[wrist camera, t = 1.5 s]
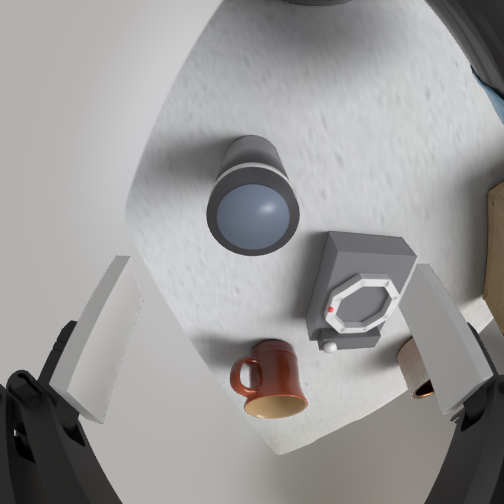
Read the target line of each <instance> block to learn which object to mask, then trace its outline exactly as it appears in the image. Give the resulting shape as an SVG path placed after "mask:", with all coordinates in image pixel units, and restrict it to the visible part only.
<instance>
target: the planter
mask: <svg viewBox="0 0 504 504" xmlns="http://www.w3.org/2000/svg"><path fill="white" fill-rule="evenodd" d="M397 360H398V363H399V366H400V368H401V371H402V373H403V376H404V379H405V381H406V384H407V387H408V389H409V392H410V395H411V397H412V398H413V399H420V398H424V397H427V396H430V395H432V394H434V393H435V391H434V388H433V386H432V383H431V380H430V377H429V375H428V372H427V370H426V367H425V365H424V362H423V360H422V357H421V355H420V352H419V350H418V347H417V345H416V343H415V340H414V338H413V337H412V338H411V339H410V340H408V341H407V342H406V343H405V344H404V345H403V347H402V348H401V349H400V351H399V353H398V355H397Z"/></svg>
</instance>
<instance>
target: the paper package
mask: <svg viewBox="0 0 504 504" xmlns="http://www.w3.org/2000/svg"><path fill="white" fill-rule="evenodd" d="M483 300H485V301H486V303H487V306H488V308H489V309H490V311H491V313H492V315H493V317H494V319H495V321H496V322H497V325H498V327H499V329H500V331H501V333H502V334H503V336H504V181H503V182H502V183H500V184H499V185H497V186H496V187H494V188H493V189H492V190H490V191H489V193H488V255H487V266H486V276H485V284H484V292H483Z"/></svg>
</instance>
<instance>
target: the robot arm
mask: <svg viewBox="0 0 504 504" xmlns="http://www.w3.org/2000/svg"><path fill="white" fill-rule="evenodd" d="M282 1H286V2H290V3H296V4H302V5H313V6H326V5H336V4H341V3H345V2H349V1H351V0H282ZM425 2H426V3H427V4H428V5H429V6H430V7H431V9H432V10H433V11H434V12H435V13H436V15H437V16H438V17H439V18H440V20H441V21H442V22H443V24H444V25H445V26H446V28H447V29H448V30H449V32H450V33H451V35H452V36H453V37H454V39H455V40H456V42H457V43H458V45H459V46H460V48H461V49H462V51H463V52H464V54H465V56H466V57H467V59H468V60H469V62H470V66H471V69H472V73H473V75H474V77H475V79H476V80H477V82H478V83H479V84H480V85H481V86H482V88H483V89H484V90H485V91H486V93H487V95H488V97H489V99H490V101H491V103H492V105H493V107H494V109H495V111H496V113H497V115H498V117H499V118H500V120H501V122H502V123H503V125H504V0H425ZM143 302H144V301H143V297H142V294H141V291H140V288H139V284H138V281H137V277H136V274H135V270H134V267H133V263H132V259H131V256H116V257H115V258H114V260H113V261H112V263H111V264H110V266H109V268H108V269H107V271H106V273H105V274H104V276H103V278H102V279H101V281H100V283H99V284H98V286H97V288H96V290H95V291H94V293H93V295H92V297H91V298H90V300H89V302H88V304H87V305H86V307H85V309H84V311H83V313H82V315H81V317H80V318H79V320H78V322H77V321H70V322H69V323H68V324H67V325H66V326H65V327H64V328H63V329H62V330H61V332H60V334H59V336H58V338H57V342H55V344H54V346H53V350H52V351H51V352H50V354H49V356H48V358H47V360H46V363H45V365H44V367H43V369H42V371H41V374H40V376H39V378H38V380H35V378H34V377H33V376H32V375H31V374H30V373H29V372H28V371H25V370H18V371H16V372H14V373H13V374H12V375H11V376H10V378H9V379H8V382H7V385H6V389H5V388H4V387H3V386H2V385H1V384H0V504H122V502H121V501H120V499H119V497H118V496H117V494H116V493H115V491H114V489H113V488H112V486H111V484H110V483H109V481H108V479H107V477H106V475H105V474H104V472H103V470H102V468H101V466H100V464H99V462H98V460H97V458H96V456H95V454H94V452H93V450H92V448H91V446H90V444H89V442H88V439H87V437H86V435H85V433H84V430H83V428H82V425H81V423H80V422H79V420H78V416H79V413H80V414H81V415H82V416H83V417H84V418H86V419H88V420H90V421H94V422H97V423H100V424H103V422H104V418H105V415H106V411H107V407H108V404H109V401H110V397H111V394H112V391H113V387H114V384H115V381H116V378H117V375H118V372H119V368H120V365H121V362H122V359H123V356H124V354H125V350H126V348H127V345H128V342H129V339H130V337H131V334H132V331H133V328H134V325H135V323H136V320H137V318H138V315H139V313H140V310H141V307H142V305H143ZM398 306H399V308H400V310H401V312H402V314H403V316H404V318H405V320H406V323H407V325H408V327H409V329H410V331H411V334H412V336H413V338H414V340H415V343H416V345H417V347H418V350H419V352H420V355H421V357H422V360H423V362H424V365H425V367H426V370H427V372H428V375H429V377H430V380H431V383H432V386H433V388H434V391H435V394H436V397H437V400H438V402H439V406H440V409H441V412H442V414H446V413H448V412H451V411H454V410H455V409H457V408H458V407H459V406H460V405H461V404H463V405H464V408H463V409H461V410H460V411H459V412H458V413H456V414H455V415H454V416H453V417H452V418H451V420H450V421H453V420H455V419H456V418H457V417H459V418H458V419H457V420H456V421H455V423H456V424H457V425H456V429H455V432H454V435H453V438H452V441H451V444H450V447H449V450H448V452H447V455H446V457H445V460H444V463H443V465H442V467H441V470H440V472H439V474H438V477H437V479H436V481H435V483H434V485H433V487H432V490H431V492H430V494H429V496H428V498H427V500H426V502H425V503H424V504H504V375H499V374H498V372H497V371H496V369H495V366H494V364H493V362H492V360H491V358H490V356H489V354H488V352H487V350H486V348H484V344H483V343H482V341H480V337H479V335H478V333H477V331H476V330H475V329H474V328H473V327H472V326H471V325H470V323H469V322H466V321H465V319H464V317H463V315H462V314H461V312H460V310H459V309H458V307H457V306H456V304H455V302H454V301H453V299H452V298H451V296H450V294H449V293H448V291H447V290H446V288H445V287H444V285H443V284H442V282H441V281H440V279H439V278H438V276H437V275H436V274H435V272H434V271H433V269H432V268H431V267H430V265H429V264H417V265H416V268H415V270H414V272H413V275H412V277H411V279H410V281H409V284H408V286H407V288H406V290H405V292H404V294H403V296H402V299H401V301H400V303H399V305H398ZM14 430H16V435H15V436H14Z"/></svg>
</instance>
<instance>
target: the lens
mask: <svg viewBox="0 0 504 504" xmlns="http://www.w3.org/2000/svg"><path fill="white" fill-rule="evenodd" d="M206 216H207V223H208V227H209V229H210V232H211V233H212V235H213V237H214V238H215V239H216V240H217V241H218V242H219V243H220V244H221V245H222V246H223V247H225V248H226V249H228V250H230V251H232V252H234V253H237V254H241V255H246V256H259V255H265V254H268V253H271V252H274V251H276V250H278V249H279V248H281V247H282V246H284V245H285V244H286V243H287V242H288V241H289V240H290V239H291V238H292V236H293V235H294V233H295V231H296V229H297V226H298V223H299V216H300V213H299V205H298V202H297V199H296V195H295V192H294V189H293V187H292V185H291V183H290V181H289V179H288V177H287V174H286V172H285V169H284V167H283V165H282V162H281V160H280V157H279V155H278V153H277V150H276V149H275V147H274V146H273V144H272V143H271V142H269V141H268V140H267V139H265V138H263V137H260V136H255V135H249V136H244V137H241V138H239V139H237V140H235V141H234V142H233V143H232V144H231V145H230V146H229V147H228V149H227V151H226V154H225V156H224V159H223V162H222V165H221V168H220V170H219V173H218V176H217V179H216V182H215V184H214V186H213V188H212V191H211V194H210V197H209V202H208V206H207V214H206Z"/></svg>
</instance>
